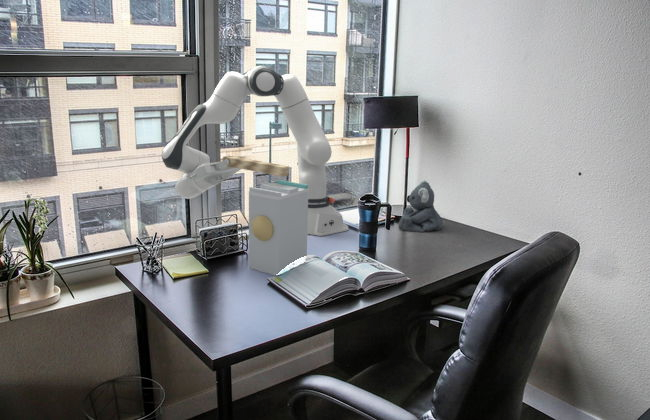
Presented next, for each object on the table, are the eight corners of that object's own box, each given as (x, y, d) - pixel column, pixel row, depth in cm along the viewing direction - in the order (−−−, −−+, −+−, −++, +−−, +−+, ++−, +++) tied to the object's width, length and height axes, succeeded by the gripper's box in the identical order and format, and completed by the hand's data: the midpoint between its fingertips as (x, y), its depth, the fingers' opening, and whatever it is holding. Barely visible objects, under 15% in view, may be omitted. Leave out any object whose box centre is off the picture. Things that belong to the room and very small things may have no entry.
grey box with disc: (247, 268, 177) (246, 188, 170) (278, 254, 191) (279, 179, 184) (276, 277, 171) (276, 193, 164) (306, 262, 185) (308, 184, 178)
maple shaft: (223, 165, 187) (223, 156, 186) (229, 164, 190) (229, 155, 189) (283, 176, 174) (283, 167, 173) (288, 175, 176) (289, 166, 176)
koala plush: (402, 220, 240) (405, 177, 235) (443, 224, 236) (447, 180, 231) (397, 231, 224) (400, 185, 219) (441, 235, 220) (445, 188, 215)
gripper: (183, 171, 186) (208, 155, 178) (224, 163, 202) (248, 148, 194) (190, 188, 186) (215, 173, 178) (230, 178, 202) (255, 164, 194)
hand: (233, 160), depth 186 cm, fingers closed on maple shaft, 3 cm apart
